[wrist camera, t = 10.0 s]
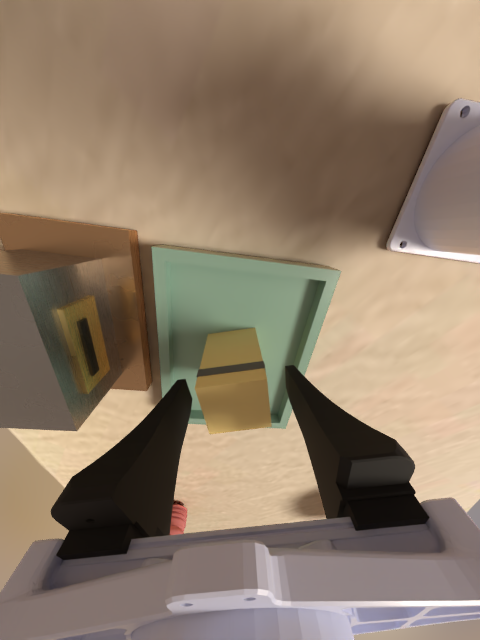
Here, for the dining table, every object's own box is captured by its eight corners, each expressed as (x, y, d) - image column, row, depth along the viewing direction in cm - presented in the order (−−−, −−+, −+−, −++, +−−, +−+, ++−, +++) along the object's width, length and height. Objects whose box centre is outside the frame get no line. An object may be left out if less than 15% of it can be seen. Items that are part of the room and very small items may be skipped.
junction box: (136, 230, 13) (55, 229, 7) (151, 381, 19) (114, 450, 13) (11, 213, 12) (-197, 196, 6) (67, 376, 18) (-13, 446, 12)
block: (255, 326, 15) (267, 378, 10) (260, 365, 17) (272, 427, 12) (207, 333, 16) (193, 387, 10) (216, 371, 17) (209, 434, 12)
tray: (327, 266, 14) (341, 270, 13) (281, 412, 21) (285, 428, 20) (162, 244, 13) (151, 246, 12) (170, 405, 20) (164, 422, 19)
